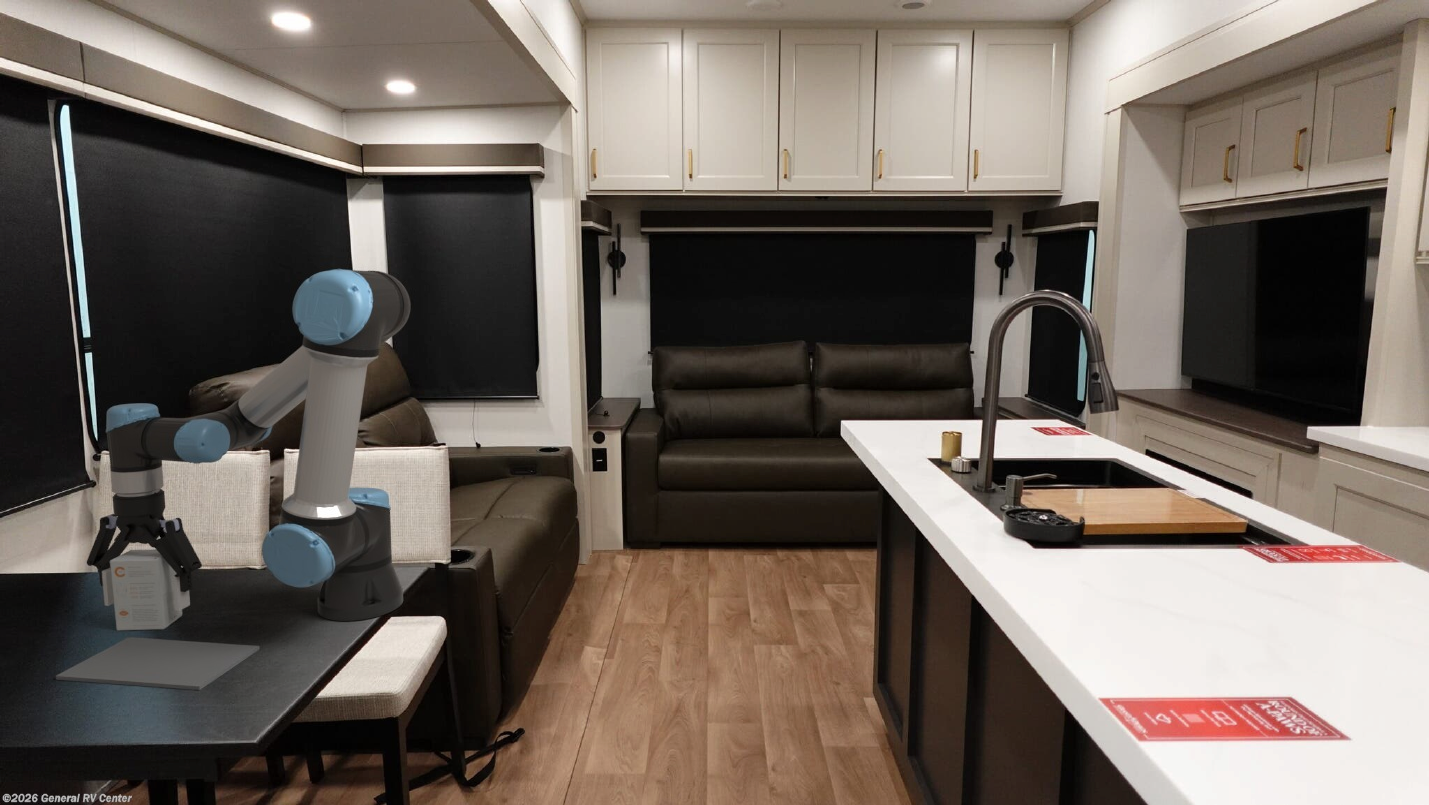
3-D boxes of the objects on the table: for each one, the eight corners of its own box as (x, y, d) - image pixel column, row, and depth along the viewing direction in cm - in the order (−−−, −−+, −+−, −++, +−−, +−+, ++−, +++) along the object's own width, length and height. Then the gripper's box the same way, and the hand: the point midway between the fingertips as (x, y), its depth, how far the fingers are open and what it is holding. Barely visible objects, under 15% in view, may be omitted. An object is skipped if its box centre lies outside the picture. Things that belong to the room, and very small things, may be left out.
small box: (183, 615, 151) (177, 548, 149) (163, 630, 144) (157, 560, 142) (136, 616, 150) (130, 548, 148) (115, 631, 144) (108, 560, 142)
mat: (259, 649, 138) (259, 646, 138) (199, 690, 124) (199, 686, 124) (129, 640, 140) (128, 637, 140) (56, 679, 126) (55, 676, 126)
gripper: (219, 489, 146) (226, 602, 149) (91, 482, 148) (101, 593, 152) (188, 500, 139) (196, 618, 142) (54, 492, 141) (65, 608, 144)
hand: (147, 605), depth 147 cm, fingers open, 13 cm apart
